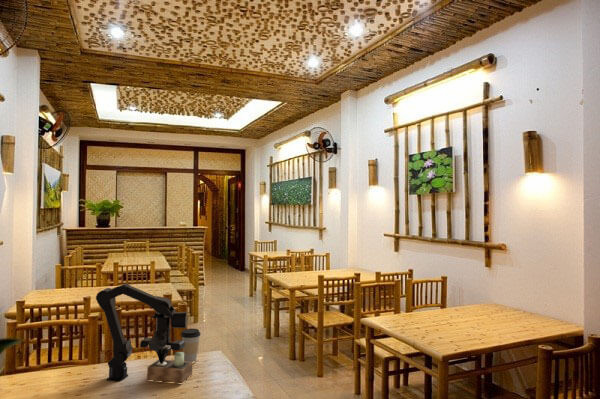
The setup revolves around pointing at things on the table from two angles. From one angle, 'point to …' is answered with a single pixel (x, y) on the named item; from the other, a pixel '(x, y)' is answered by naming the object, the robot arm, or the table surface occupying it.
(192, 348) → the coffee cup
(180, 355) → the sage peg
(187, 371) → the walnut block
